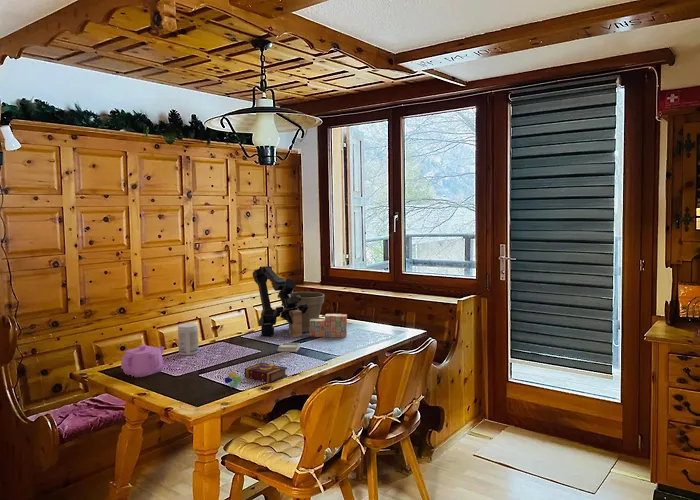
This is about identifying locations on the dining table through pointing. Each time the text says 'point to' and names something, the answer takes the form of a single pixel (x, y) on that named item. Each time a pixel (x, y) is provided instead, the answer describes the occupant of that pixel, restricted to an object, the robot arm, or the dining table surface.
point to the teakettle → (142, 361)
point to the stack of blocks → (329, 326)
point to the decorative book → (265, 372)
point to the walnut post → (295, 323)
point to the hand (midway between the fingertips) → (296, 323)
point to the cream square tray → (289, 347)
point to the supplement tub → (188, 339)
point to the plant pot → (309, 306)
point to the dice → (233, 379)
